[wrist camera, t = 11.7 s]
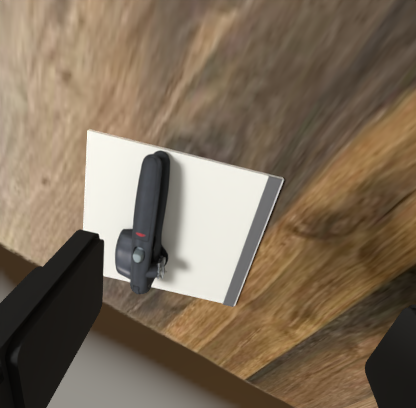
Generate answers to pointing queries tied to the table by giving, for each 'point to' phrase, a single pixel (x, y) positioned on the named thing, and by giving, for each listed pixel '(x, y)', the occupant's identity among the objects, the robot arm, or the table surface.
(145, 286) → the can opener
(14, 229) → the table surface
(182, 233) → the mat
